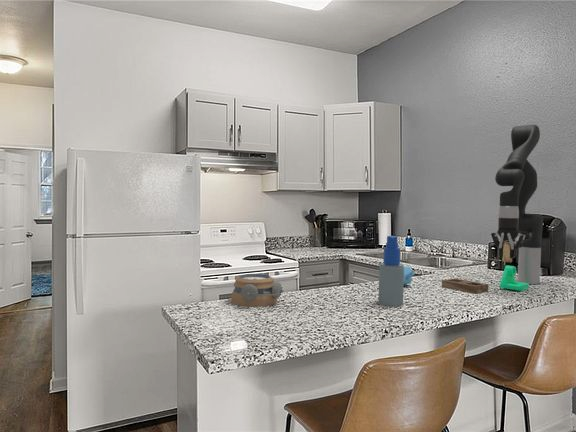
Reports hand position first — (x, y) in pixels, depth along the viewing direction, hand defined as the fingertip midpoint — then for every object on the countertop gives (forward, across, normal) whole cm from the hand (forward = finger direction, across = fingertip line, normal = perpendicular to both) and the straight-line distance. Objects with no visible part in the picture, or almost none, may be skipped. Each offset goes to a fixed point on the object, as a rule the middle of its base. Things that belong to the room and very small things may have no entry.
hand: (507, 257), depth 177 cm
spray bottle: (+14, +14, +57) cm, 61 cm away
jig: (+15, +14, +8) cm, 22 cm away
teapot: (+15, +36, +27) cm, 48 cm away
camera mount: (+16, +2, -12) cm, 20 cm away
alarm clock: (+14, +41, +98) cm, 107 cm away
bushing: (+2, 0, 0) cm, 2 cm away
